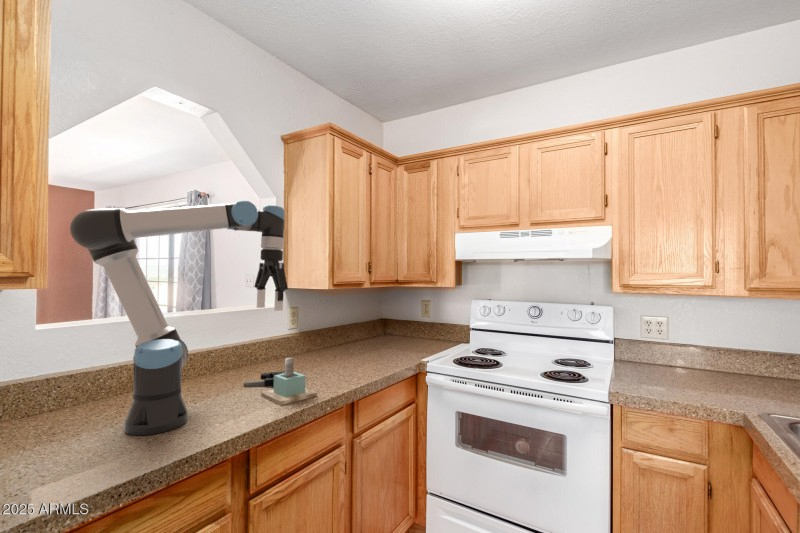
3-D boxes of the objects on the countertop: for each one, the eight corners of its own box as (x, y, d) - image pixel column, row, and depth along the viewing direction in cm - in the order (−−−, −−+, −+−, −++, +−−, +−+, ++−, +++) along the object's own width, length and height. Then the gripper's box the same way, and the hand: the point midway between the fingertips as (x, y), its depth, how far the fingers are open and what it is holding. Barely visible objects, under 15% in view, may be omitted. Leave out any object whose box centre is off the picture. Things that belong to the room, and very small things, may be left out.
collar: (284, 397, 129) (285, 379, 129) (273, 392, 134) (273, 375, 134) (305, 392, 134) (305, 375, 135) (293, 387, 140) (293, 371, 140)
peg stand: (280, 405, 124) (281, 365, 125) (261, 395, 134) (261, 358, 134) (316, 395, 134) (317, 358, 135) (296, 387, 144) (296, 353, 144)
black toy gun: (239, 385, 139) (283, 381, 141) (252, 372, 159) (291, 368, 161) (239, 394, 139) (284, 390, 141) (253, 380, 159) (292, 376, 161)
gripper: (299, 249, 128) (296, 311, 127) (266, 251, 146) (263, 306, 145) (279, 247, 123) (276, 312, 122) (246, 249, 140) (243, 306, 139)
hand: (269, 309), depth 133 cm, fingers open, 13 cm apart
